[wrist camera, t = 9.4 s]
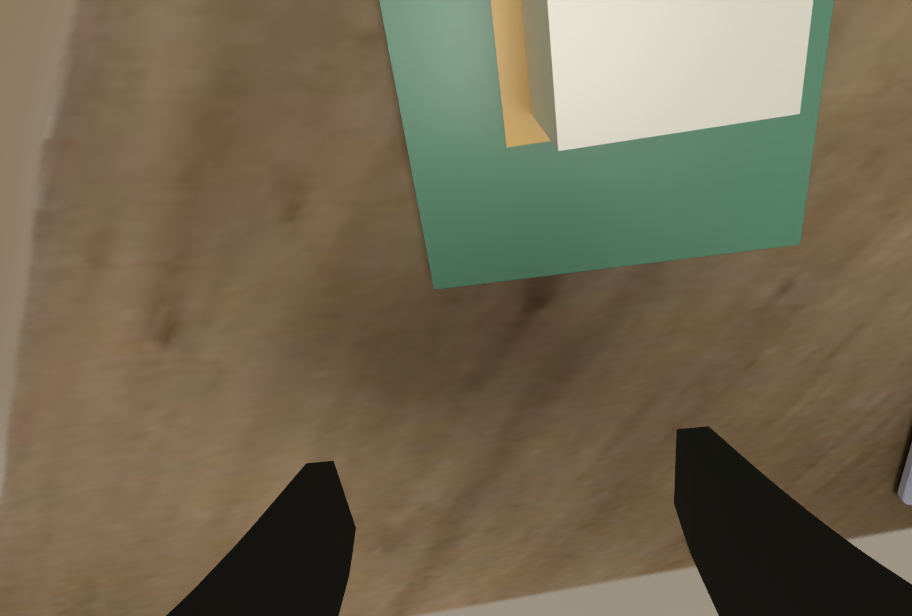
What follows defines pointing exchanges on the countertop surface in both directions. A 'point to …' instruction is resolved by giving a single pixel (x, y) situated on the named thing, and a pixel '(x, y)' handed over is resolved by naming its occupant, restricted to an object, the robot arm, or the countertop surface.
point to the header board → (576, 161)
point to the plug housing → (661, 65)
